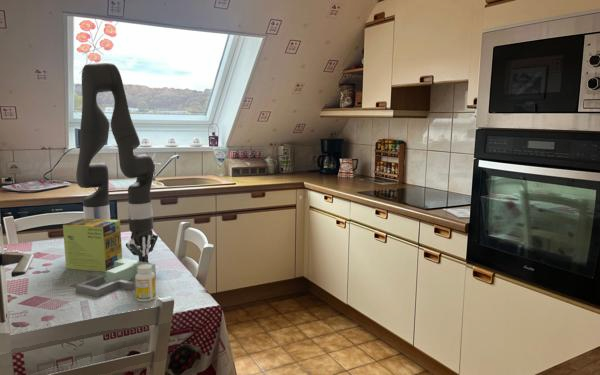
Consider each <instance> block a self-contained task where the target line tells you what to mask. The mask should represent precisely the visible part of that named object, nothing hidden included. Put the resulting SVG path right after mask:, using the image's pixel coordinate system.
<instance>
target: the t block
mask: <svg viewBox="0 0 600 375" xmlns="http://www.w3.org/2000/svg"><path fill="white" fill-rule="evenodd" d="M143 264H149V265H152V271H151V272H153V273H154V274H155V277H156V276H157V273H156V272H157V271H156V270H157V269H156V263H153V262H152V263H151V262H148V263H147V262H142V261H139V260H135V259H129V258H125V257H122V259H120V260H117V261H114V267H113V268H111V269H109V270H107V271H106V272H105V282H106V284H108V283H110V282H113V281H115V280H117V279H121V280H126V281H130V280H132V279H135V276H136V274H137V273H138V271H137V267H138V266H139V265H143Z"/></svg>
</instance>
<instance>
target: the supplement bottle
mask: <svg viewBox="0 0 600 375" xmlns="http://www.w3.org/2000/svg"><path fill="white" fill-rule="evenodd" d="M137 271H138V273H137V274H136V276H135V278H134V281H135V295H136V300H137V301H139V302H142V303H143V302H144V303H145V302H149V301H152V300H154V299H155V298H156V292H157V291H156V276H155V274H154V273H153V272H151V271H152V265H149V264H143V265H139V266H138V267H137Z"/></svg>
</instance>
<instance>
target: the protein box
mask: <svg viewBox="0 0 600 375" xmlns="http://www.w3.org/2000/svg"><path fill="white" fill-rule="evenodd" d="M62 229H63V230H62V233H63V245H64V256H65V269H67V270H79V271H80V270H81V271H91V272H103V273H106V271H107V270H110V269H113V268H114V261H117V260H120V259H122V258H123V248H122V232H121V220H120V219H110V220H108V219H87V218H84V217H83V218H79V219H77V220H73V221H69V222H67V223H64V224H62Z"/></svg>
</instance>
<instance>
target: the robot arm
mask: <svg viewBox="0 0 600 375" xmlns="http://www.w3.org/2000/svg"><path fill="white" fill-rule="evenodd" d="M107 92H110V93H111V94H112V96H113V99H114V102H113V103H114V106H113V110H112V115H111V121H109V119H108V117H107V115H106V114H105V113H104V112H103V110H102V108H100V106H99V104H98V102H97V98H98V97H97V96H98V94H99V93H107ZM81 101H82V102H81V104H82V105H81V107H82V108H81V117H80V118H81V119H80V130H79V154H78V159H77V160H78V161H77V165H76V173H75V174H76V176H75V178H76V183H77V185H78V186H79V188H81V189H90V188H91V189H94V188H97V189H96V190H95V192H93V193H91V194H89V195H87V196H85V197H84V198H83V199H82V205H83V206H82V207H83V208H82V209H83V218H87V219H108V220H111V212H110V210H111V209H110V190H109V184H110V183H109V179H110V178H109V169H108V166H107V164H106V163H105V162H92V160H93V158H94V157H95V156H96V155H97V154H98V153H99V152H101V150H102V149H103V148H104V147H105V145H106V144H107V142H108V140H109V136H110V135H109V133H110V128H111V132H112V135H113V139H114V141H115V143H116V145H117V151H118V160H119V169H120V171H121V172H122V174H123V175H124V177H126V178H128V179H134V178H136V181H135V182H134V183H132V184H130V185H129V186H128V187H127V197H128V202H127V203H128V210H127V211H128V227H129V228H128V229H129V230H130V232H131V233H130V234H131V235H130V241H129V242H126V243H125V247H126V248H127V250H129V252H130V253H132V255H133V256H136V257H137V256H138V261H142V262H147V263H149V254H150V253H152V252H153V250H154V248H155V246H156V243H157V241H158V238H159V236H158V235H156V234H154V233H153V229H154V219H153V218H154V217H153V216H154V215H153V206H152V197H151V196H152V195H151V188H152V183H153V179H154V173H155V163H154V161H153V159H152V157H151V156H150V155H148V154H146V153H145V154H137V155H135V154H134V150H136V149H138V148H139V147H140V145H141V142H140V139H139V136H138V133H137V131H136V128H135V126H134V123H133V120H132V116H131V113H130V110H129V104H128V99H127V95H126V91H125V87H124V83H123V79H122V76H121V73H120V70H119V68H118V67H117V66H116V64H114V63H113V62H101V63H100V62H98V63H87V64H85V65H84V66H83V67H82V70H81Z"/></svg>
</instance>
